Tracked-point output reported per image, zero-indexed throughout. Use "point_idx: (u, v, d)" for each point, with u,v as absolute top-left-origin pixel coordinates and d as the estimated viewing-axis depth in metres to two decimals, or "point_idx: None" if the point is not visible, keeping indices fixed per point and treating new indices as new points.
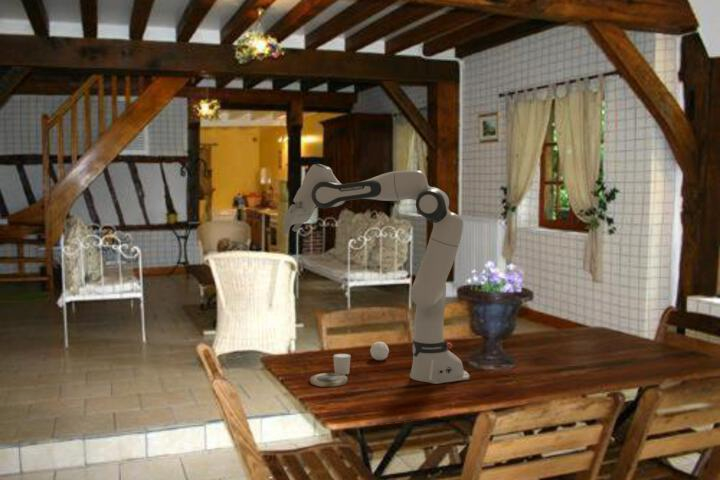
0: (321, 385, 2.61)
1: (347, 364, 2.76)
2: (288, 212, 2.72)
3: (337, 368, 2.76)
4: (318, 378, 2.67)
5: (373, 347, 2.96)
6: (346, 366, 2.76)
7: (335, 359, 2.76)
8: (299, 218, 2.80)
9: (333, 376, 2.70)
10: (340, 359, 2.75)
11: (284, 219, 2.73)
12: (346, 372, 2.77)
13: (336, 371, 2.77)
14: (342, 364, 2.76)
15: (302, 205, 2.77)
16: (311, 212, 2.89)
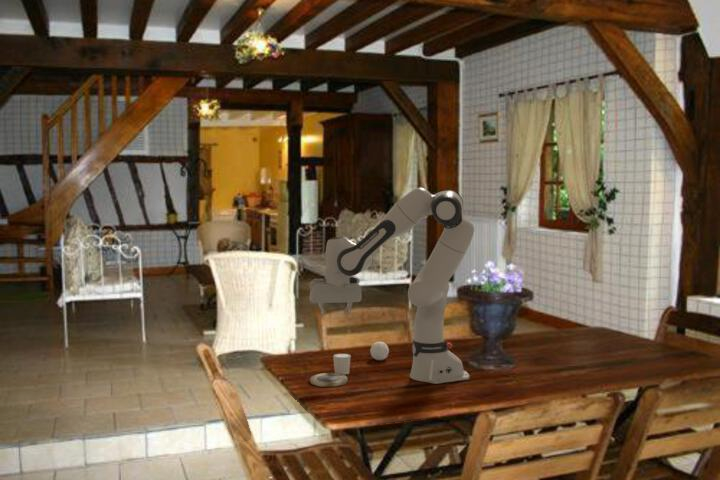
0: (321, 385, 2.61)
1: (347, 364, 2.76)
2: (310, 291, 2.74)
3: (337, 368, 2.76)
4: (318, 378, 2.67)
5: (373, 347, 2.96)
6: (346, 366, 2.76)
7: (335, 359, 2.76)
8: (332, 296, 2.74)
9: (333, 376, 2.70)
10: (340, 359, 2.75)
11: (309, 298, 2.74)
12: (346, 372, 2.77)
13: (336, 371, 2.77)
14: (342, 364, 2.76)
15: (326, 281, 2.74)
16: (356, 289, 2.77)
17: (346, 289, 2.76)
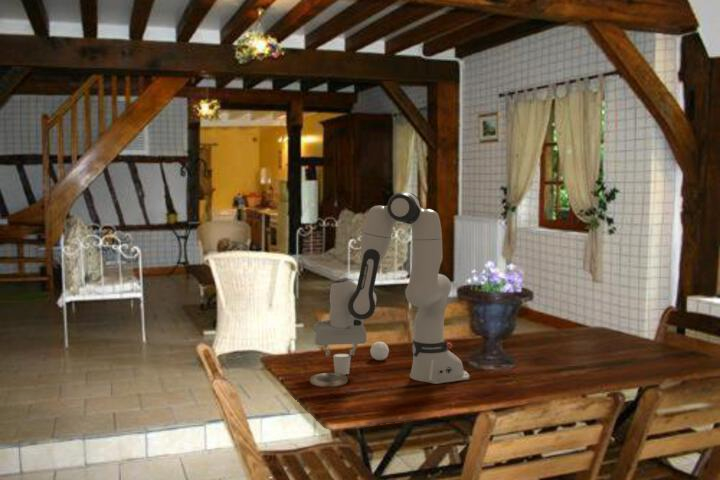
0: (321, 385, 2.61)
1: (347, 364, 2.76)
2: (315, 332, 2.77)
3: (337, 368, 2.76)
4: (318, 378, 2.67)
5: (373, 347, 2.96)
6: (346, 366, 2.76)
7: (335, 359, 2.76)
8: (336, 338, 2.76)
9: (333, 376, 2.70)
10: (340, 359, 2.75)
11: (314, 340, 2.77)
12: (346, 372, 2.77)
13: (336, 371, 2.77)
14: (342, 364, 2.76)
15: (330, 323, 2.75)
16: (361, 331, 2.77)
17: (350, 331, 2.77)
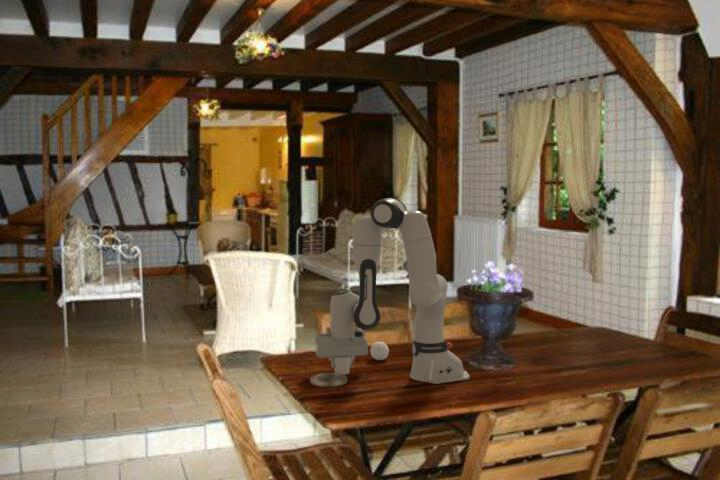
0: (321, 385, 2.61)
1: (347, 364, 2.76)
2: (316, 345, 2.77)
3: (337, 368, 2.76)
4: (318, 378, 2.67)
5: (373, 347, 2.96)
6: (346, 366, 2.76)
7: (335, 359, 2.76)
8: (338, 350, 2.76)
9: (333, 376, 2.70)
10: (340, 359, 2.75)
11: (316, 353, 2.77)
12: (346, 372, 2.77)
13: (336, 371, 2.77)
14: (342, 364, 2.76)
15: (331, 335, 2.76)
16: (362, 343, 2.78)
17: (352, 343, 2.77)
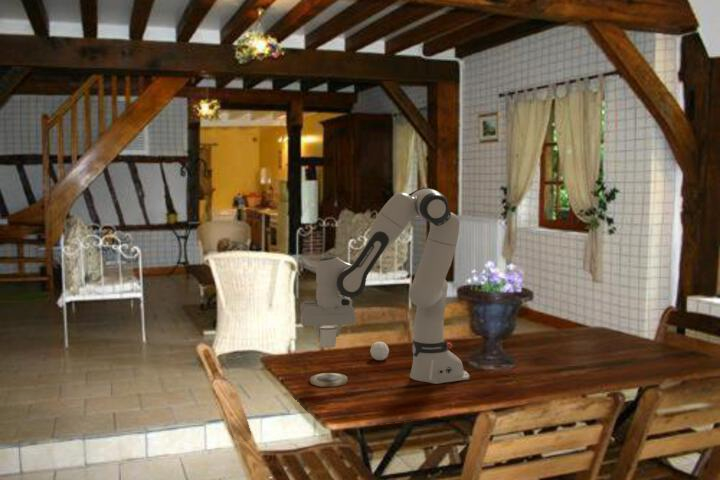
0: (321, 385, 2.61)
1: (332, 336, 2.64)
2: (301, 313, 2.64)
3: (322, 341, 2.64)
4: (318, 378, 2.67)
5: (373, 347, 2.96)
6: (332, 338, 2.64)
7: (320, 331, 2.64)
8: (324, 318, 2.63)
9: (333, 376, 2.70)
10: (325, 331, 2.63)
11: None
12: (332, 345, 2.64)
13: (321, 344, 2.65)
14: (327, 336, 2.63)
15: (317, 303, 2.63)
16: (349, 311, 2.65)
17: (338, 311, 2.65)
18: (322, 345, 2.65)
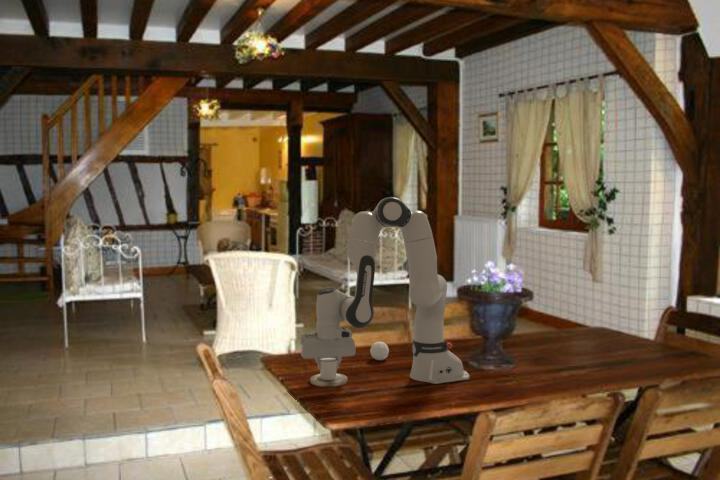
0: (321, 385, 2.61)
1: (333, 368, 2.65)
2: (302, 345, 2.66)
3: (323, 373, 2.65)
4: (318, 378, 2.67)
5: (373, 347, 2.96)
6: (332, 370, 2.65)
7: (321, 363, 2.65)
8: (324, 350, 2.65)
9: None
10: (326, 363, 2.64)
11: (301, 354, 2.66)
12: (332, 377, 2.66)
13: (322, 376, 2.66)
14: (328, 368, 2.65)
15: (317, 336, 2.64)
16: (350, 343, 2.66)
17: (339, 343, 2.66)
18: (323, 377, 2.66)
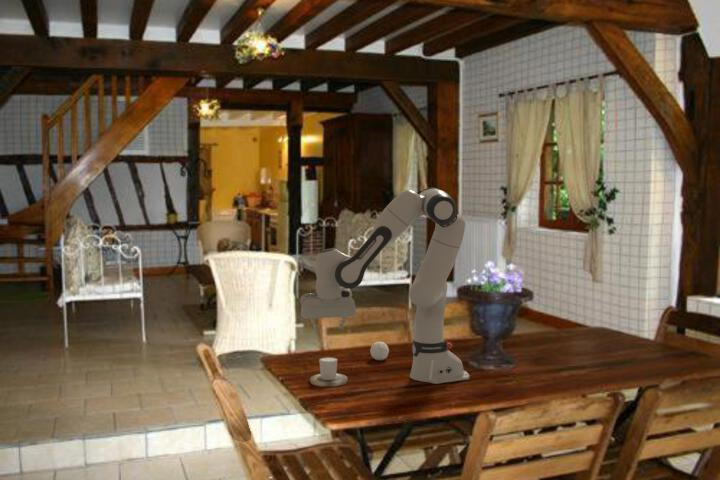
0: (321, 385, 2.61)
1: (333, 368, 2.65)
2: None
3: (323, 373, 2.65)
4: (318, 378, 2.67)
5: (373, 347, 2.96)
6: (332, 370, 2.65)
7: (321, 363, 2.65)
8: (324, 310, 2.63)
9: None
10: (326, 363, 2.64)
11: (301, 314, 2.64)
12: (332, 377, 2.66)
13: (322, 376, 2.66)
14: (328, 368, 2.65)
15: (317, 296, 2.63)
16: (350, 303, 2.65)
17: (339, 303, 2.64)
18: (323, 377, 2.66)
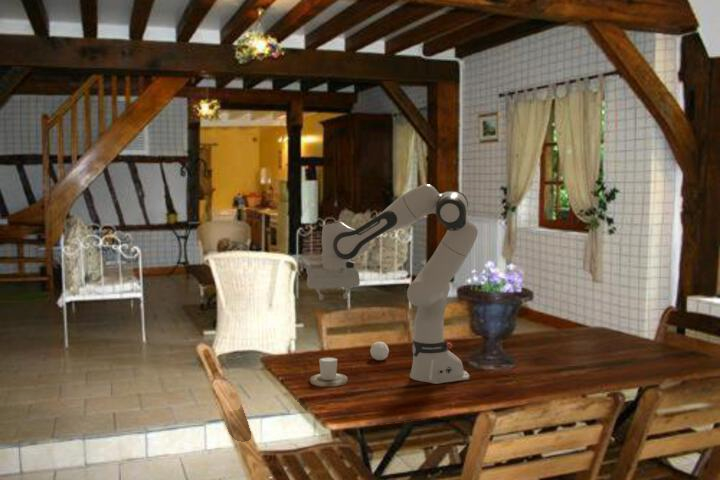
0: (321, 385, 2.61)
1: (333, 368, 2.65)
2: None
3: (323, 373, 2.65)
4: (318, 378, 2.67)
5: (373, 347, 2.96)
6: (332, 370, 2.65)
7: (321, 363, 2.65)
8: (329, 281, 2.74)
9: None
10: (326, 363, 2.64)
11: (307, 284, 2.75)
12: (332, 377, 2.66)
13: (322, 376, 2.66)
14: (328, 368, 2.65)
15: (322, 266, 2.73)
16: (354, 274, 2.75)
17: (343, 274, 2.75)
18: (323, 377, 2.66)
